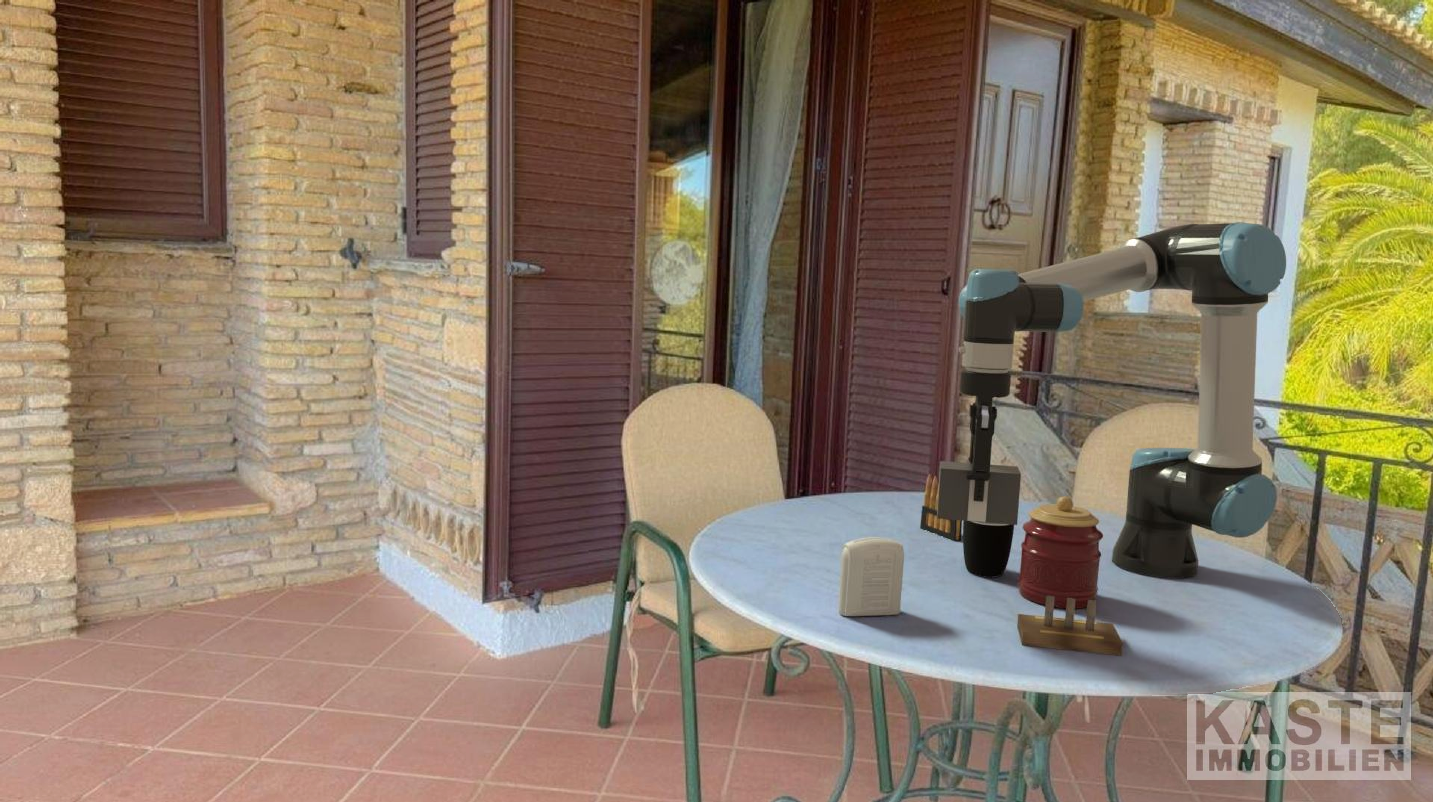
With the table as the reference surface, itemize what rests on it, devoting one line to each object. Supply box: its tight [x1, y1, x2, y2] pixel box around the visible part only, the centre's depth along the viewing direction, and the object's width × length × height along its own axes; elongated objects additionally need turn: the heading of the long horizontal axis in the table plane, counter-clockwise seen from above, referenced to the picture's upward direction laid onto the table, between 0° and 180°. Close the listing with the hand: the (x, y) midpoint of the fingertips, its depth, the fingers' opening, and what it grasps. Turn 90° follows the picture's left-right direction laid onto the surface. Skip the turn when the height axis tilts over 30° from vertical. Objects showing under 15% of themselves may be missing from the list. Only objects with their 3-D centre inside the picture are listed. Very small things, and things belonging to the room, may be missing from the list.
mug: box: [962, 521, 1015, 578], centre depth 185 cm, size 12×9×10 cm
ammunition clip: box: [919, 473, 963, 542], centre depth 208 cm, size 11×2×12 cm, turn 29°
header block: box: [1017, 596, 1124, 656], centre depth 151 cm, size 14×8×6 cm, turn 78°
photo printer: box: [837, 536, 905, 617], centre depth 159 cm, size 10×4×12 cm, turn 103°
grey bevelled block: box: [937, 460, 1022, 526], centre depth 157 cm, size 12×6×8 cm, turn 78°
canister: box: [1017, 495, 1104, 609], centre depth 170 cm, size 13×13×18 cm
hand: (975, 515), depth 157 cm, fingers closed on grey bevelled block, 6 cm apart
